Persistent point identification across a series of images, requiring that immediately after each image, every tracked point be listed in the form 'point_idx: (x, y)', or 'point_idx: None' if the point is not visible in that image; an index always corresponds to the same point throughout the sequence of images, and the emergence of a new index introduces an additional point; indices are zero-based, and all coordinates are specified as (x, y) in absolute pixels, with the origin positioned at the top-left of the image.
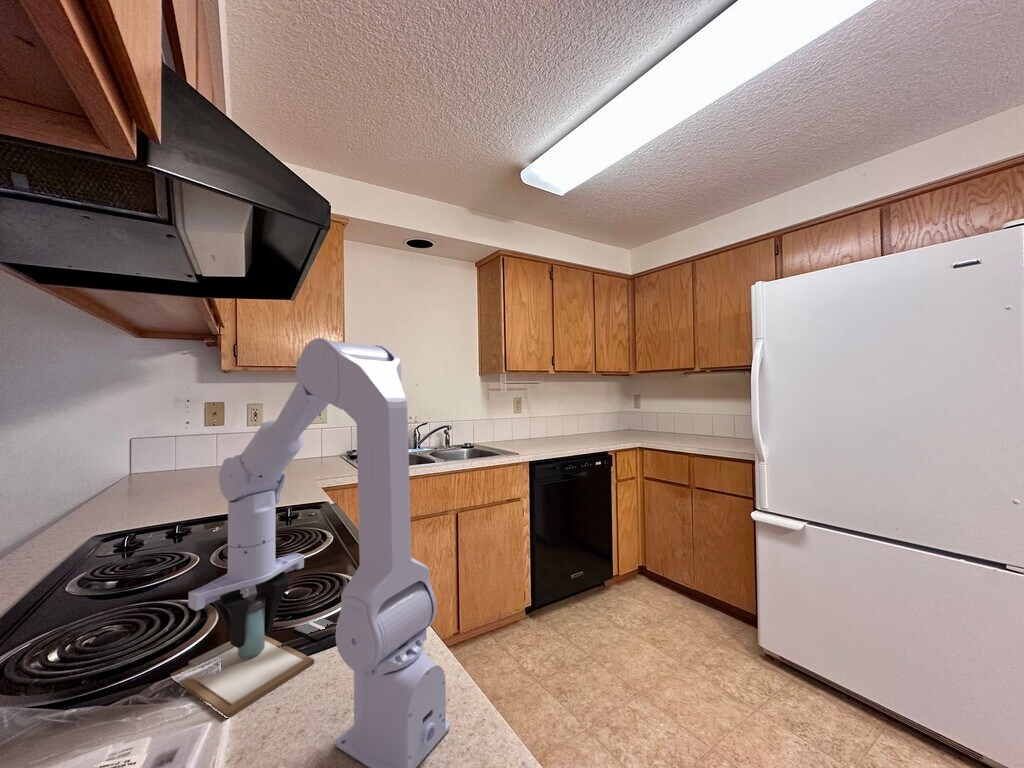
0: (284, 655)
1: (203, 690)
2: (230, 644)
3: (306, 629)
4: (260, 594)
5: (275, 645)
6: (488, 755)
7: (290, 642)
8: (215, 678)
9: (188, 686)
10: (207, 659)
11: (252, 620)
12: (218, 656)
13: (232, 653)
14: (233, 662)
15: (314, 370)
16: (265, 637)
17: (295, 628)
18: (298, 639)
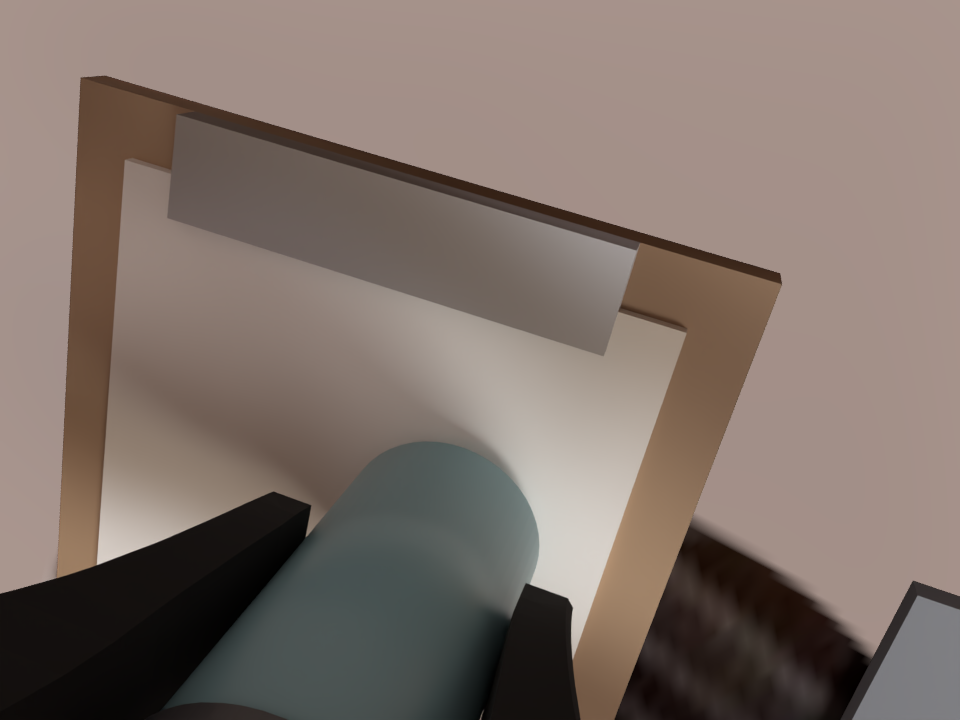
0: None
1: (88, 484)
2: (465, 269)
3: (904, 716)
4: None
5: (603, 616)
6: None
7: (727, 648)
8: (168, 480)
9: (72, 351)
10: (262, 244)
11: None
12: (336, 283)
13: (400, 370)
14: (323, 468)
15: None
16: (693, 454)
17: (909, 613)
18: (781, 686)
